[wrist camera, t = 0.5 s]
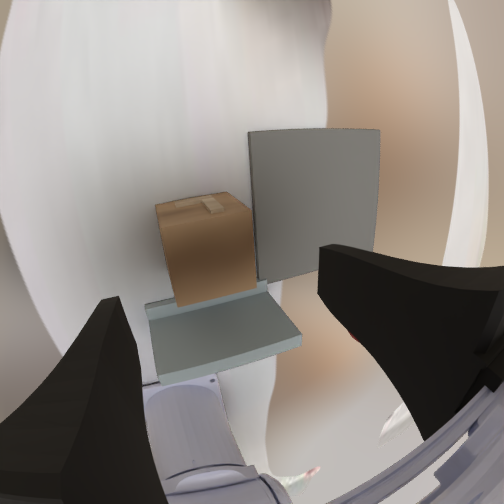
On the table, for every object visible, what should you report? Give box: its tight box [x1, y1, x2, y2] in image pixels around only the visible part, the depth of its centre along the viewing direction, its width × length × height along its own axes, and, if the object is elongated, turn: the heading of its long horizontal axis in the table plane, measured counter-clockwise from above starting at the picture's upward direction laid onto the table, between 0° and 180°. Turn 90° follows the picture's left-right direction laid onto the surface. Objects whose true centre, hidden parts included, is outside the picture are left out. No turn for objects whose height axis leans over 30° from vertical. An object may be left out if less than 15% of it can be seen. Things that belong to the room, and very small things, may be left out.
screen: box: [145, 278, 302, 386], centre depth 19 cm, size 3×9×6 cm, turn 94°
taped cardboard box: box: [155, 192, 257, 307], centre depth 17 cm, size 5×5×5 cm
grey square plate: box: [248, 129, 380, 284], centre depth 21 cm, size 11×11×1 cm
